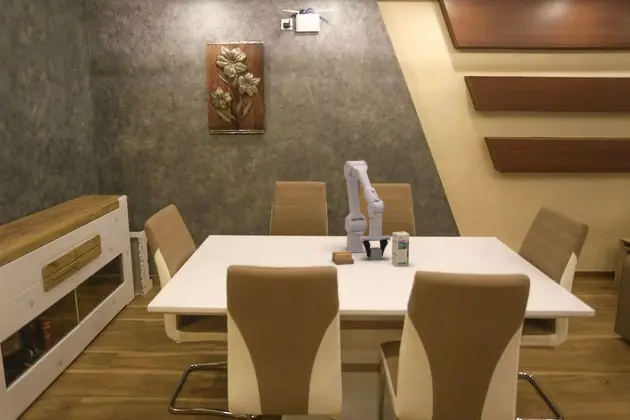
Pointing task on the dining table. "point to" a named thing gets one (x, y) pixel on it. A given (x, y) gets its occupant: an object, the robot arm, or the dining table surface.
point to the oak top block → (341, 255)
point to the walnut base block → (342, 261)
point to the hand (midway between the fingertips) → (374, 256)
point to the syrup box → (400, 248)
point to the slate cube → (375, 254)
